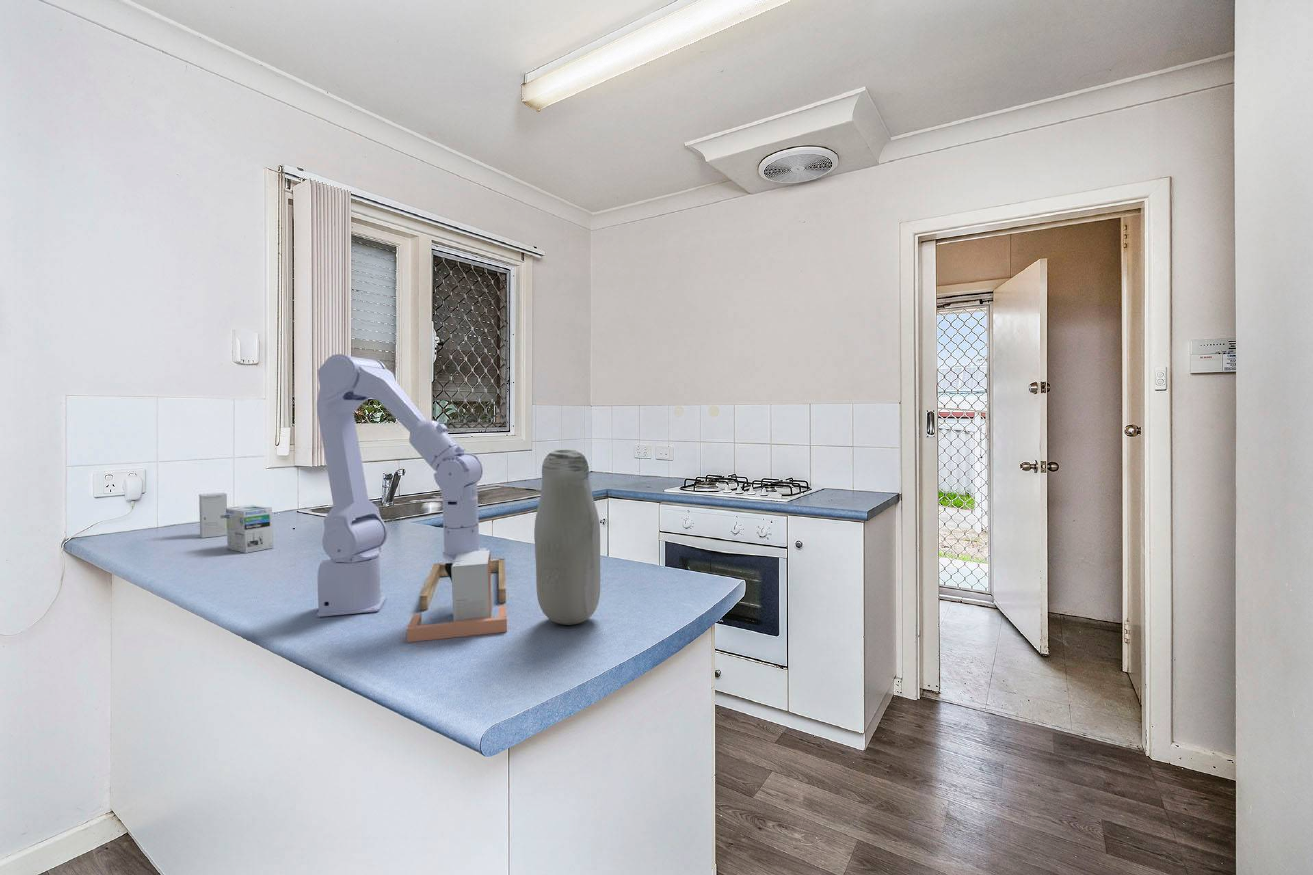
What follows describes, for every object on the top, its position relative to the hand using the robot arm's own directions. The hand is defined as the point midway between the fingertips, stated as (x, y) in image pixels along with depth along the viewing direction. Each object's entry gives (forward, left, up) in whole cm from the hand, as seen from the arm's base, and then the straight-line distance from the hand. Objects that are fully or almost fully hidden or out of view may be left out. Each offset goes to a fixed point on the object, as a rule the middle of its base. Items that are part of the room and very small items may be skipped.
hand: (463, 603), depth 99 cm
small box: (+2, -5, -1) cm, 6 cm away
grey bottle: (+17, -10, -2) cm, 20 cm away
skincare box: (-73, +89, -2) cm, 115 cm away
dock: (0, -8, -1) cm, 8 cm away
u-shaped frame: (0, +14, -1) cm, 14 cm away
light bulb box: (-56, +67, -2) cm, 88 cm away
